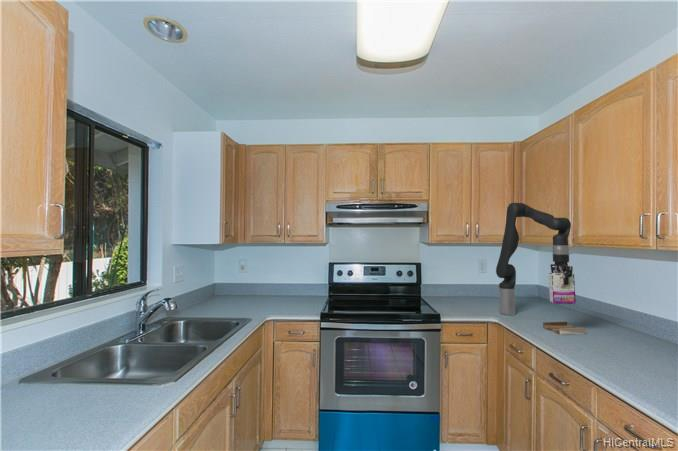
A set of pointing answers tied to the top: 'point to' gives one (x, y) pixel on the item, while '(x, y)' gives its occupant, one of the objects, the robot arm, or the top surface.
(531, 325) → the top surface
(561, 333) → the shelf
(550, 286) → the candy bar box
